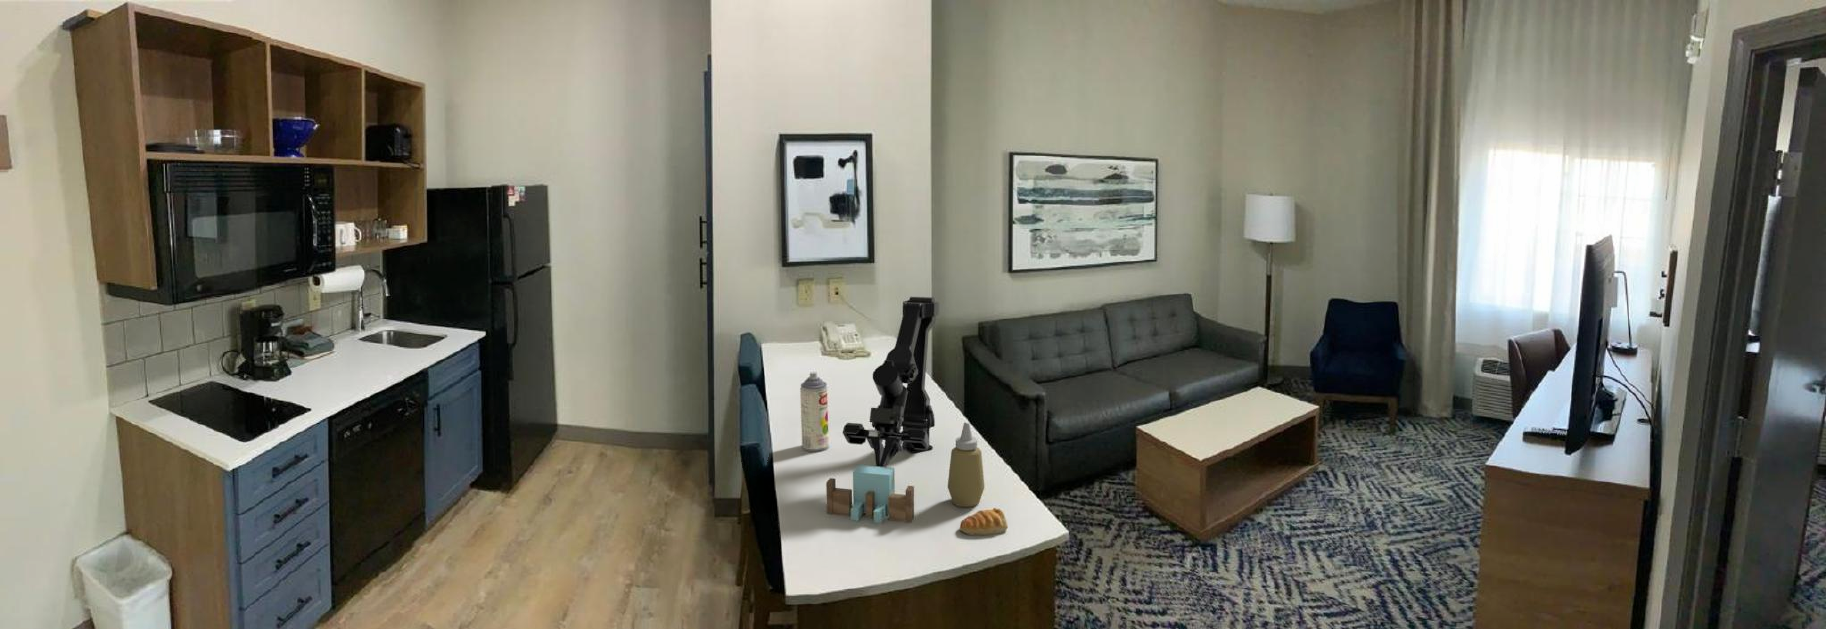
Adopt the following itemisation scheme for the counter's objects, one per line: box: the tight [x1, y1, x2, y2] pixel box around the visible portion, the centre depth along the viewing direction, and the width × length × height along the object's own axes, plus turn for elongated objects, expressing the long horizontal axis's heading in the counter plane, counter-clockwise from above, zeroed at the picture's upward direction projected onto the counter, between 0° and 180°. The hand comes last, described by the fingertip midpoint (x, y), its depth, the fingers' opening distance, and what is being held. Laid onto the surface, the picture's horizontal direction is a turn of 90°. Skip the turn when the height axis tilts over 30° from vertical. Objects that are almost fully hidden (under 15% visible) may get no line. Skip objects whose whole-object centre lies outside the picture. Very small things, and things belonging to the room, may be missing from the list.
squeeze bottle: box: [947, 422, 985, 508], centre depth 177 cm, size 8×8×18 cm
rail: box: [825, 477, 915, 523], centre depth 172 cm, size 2×18×7 cm, turn 76°
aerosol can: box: [799, 371, 830, 453], centre depth 210 cm, size 7×7×20 cm
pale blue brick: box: [850, 464, 896, 524], centre depth 173 cm, size 8×8×9 cm
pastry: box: [959, 507, 1009, 536], centre depth 166 cm, size 9×7×4 cm
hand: (879, 472), depth 178 cm, fingers closed
